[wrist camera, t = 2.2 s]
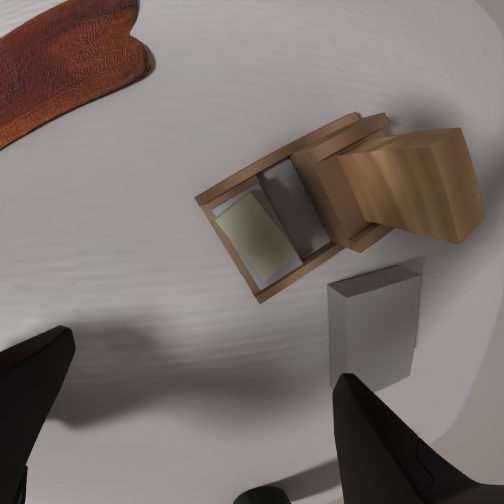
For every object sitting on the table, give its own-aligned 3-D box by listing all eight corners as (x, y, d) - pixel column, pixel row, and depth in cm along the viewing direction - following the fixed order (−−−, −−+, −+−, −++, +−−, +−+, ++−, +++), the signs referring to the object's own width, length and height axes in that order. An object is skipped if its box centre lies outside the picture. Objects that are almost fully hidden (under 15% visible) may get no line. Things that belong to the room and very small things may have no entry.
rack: (256, 298, 22) (273, 322, 18) (194, 197, 19) (198, 200, 15) (390, 208, 23) (424, 214, 19) (348, 114, 20) (380, 103, 16)
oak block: (365, 220, 19) (458, 244, 11) (336, 156, 18) (431, 146, 10) (391, 202, 19) (484, 217, 12) (365, 140, 18) (460, 127, 10)
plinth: (330, 385, 25) (345, 404, 22) (327, 284, 23) (346, 298, 20) (391, 360, 27) (409, 375, 24) (397, 265, 24) (420, 274, 21)
